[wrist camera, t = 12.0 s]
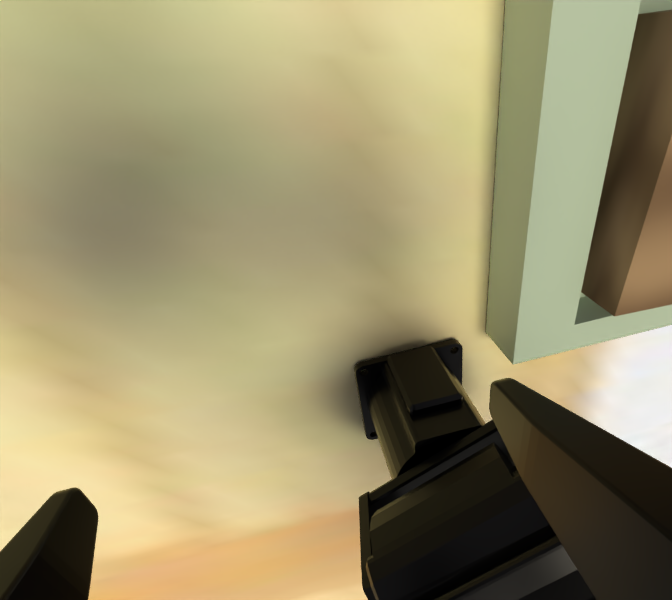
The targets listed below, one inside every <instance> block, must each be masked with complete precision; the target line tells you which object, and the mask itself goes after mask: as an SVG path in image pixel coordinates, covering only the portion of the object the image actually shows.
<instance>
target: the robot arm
mask: <svg viewBox="0 0 672 600" xmlns="http://www.w3.org/2000/svg"><path fill="white" fill-rule="evenodd" d="M453 347H455V348H454V349H452V348H453ZM451 349H452V350H451ZM363 369H366V370H365V371H361V370H363ZM354 372H355V377H356V383H357V389H358V395H359V400H360V406H361V412H362V418H363V423H364V429H365V433H366V437H367V438H368V439H371V440H373V439H379V442H380V445H381V448H382V451H383V454H384V457H385V460H386V463H387V466H388V469H389V472H390V475H391V478H392V480H390V481H389V482H387V483H385V484H384V485H382V486H380V487H379V488H377V489H375V490H374V491H372V492H367V493H365V494H363V495H362V496H360V497H359V516H360V545H361V569H362V586H363V590H364V593H365V595H366V596H367V598H368V600H672V468H671V467H669V466H667V465H666V464H664V463H662V462H660V461H659V460H657V459H655V458H653V457H651V456H650V455H648V454H646V453H644V452H642V451H641V450H639V449H637V448H635V447H634V446H632V445H630V444H628V443H626V442H625V441H623V440H621V439H619V438H617V437H616V436H614V435H612V434H610V433H609V432H607V431H605V430H603V429H601V428H600V427H598V426H596V425H594V424H593V423H591V422H589V421H587V420H585V419H584V418H582V417H580V416H578V415H576V414H575V413H573V412H571V411H569V410H568V409H566V408H564V407H562V406H560V405H559V404H557V403H555V402H553V401H551V400H550V399H548V398H546V397H544V396H543V395H541V394H539V393H537V392H535V391H534V390H532V389H530V388H528V387H526V386H525V385H523V384H521V383H519V382H518V381H516V380H514V379H511V378H505V379H501V380H497V381H494V382H493V383H492V384H491V389H490V403H489V409H490V414H491V416H492V419H493V420H491V421H489V422H488V423H486V424H485V422H484V420H483V419H482V417H481V416H480V414H479V413H478V411H477V409H476V408H475V406H474V405H473V403H472V402H471V400H470V398H469V397H468V395H467V394H466V392H465V391H464V389H463V387H462V345H461V344H460V343H459V341H457V340H455V339H454V340H448V341H444V342H440V343H436V344H432V345H428V346H424V347H420V348H416V349H411V350H407V351H403V352H399V353H395V354H391V355H387V356H383V357H379V358H374V359H370V360H366V361H362V362H359V363H358V364H356V366H355V367H354ZM97 525H98V513H97V510H96V508H95V506H94V505H93V504H92V503H91V501H90V500H89V499H88V498H87V497H86V496H85V494H84V493H83V492H82V491H81V490H80V489H78V488H70V489H66V490H62V491H59V492H56V493H54V494H53V495H52V496H51V497H50V498H49V499H48V500H47V501H46V502H45V503H44V504H43V505H42V507H41V508H40V509H39V510H38V511H37V512H36V513H35V514H34V515H33V516H32V517H31V519H30V520H29V521H28V522H27V523H26V524H25V525H24V526H23V527H22V528H21V530H20V531H19V532H18V533H17V534H16V535H15V536H14V537H13V538H12V539H11V541H10V542H9V543H8V544H7V545H6V546H5V547H4V548H3V549H2V550H1V551H0V600H88V596H89V590H90V582H91V574H92V566H93V558H94V550H95V542H96V534H97Z"/></svg>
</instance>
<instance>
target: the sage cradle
mask: <svg viewBox="0 0 672 600" xmlns="http://www.w3.org/2000/svg"><path fill="white" fill-rule="evenodd" d="M665 10H672V0H505V15H504V32H503V49H502V66H501V83H500V100H499V117H498V134H497V151H496V168H495V185H494V202H493V219H492V235H491V252H490V269H489V286H488V303H487V320H486V333H487V334H488V336H489V337H490V338H491V339H492V340H493V341H494V343H495V344H496V345H497V346H498V347H499V349H500V350H501V351H502V352H503V353H504V354H505V356H506V357H507V358H508V359H509V360H510V362H511V363H512V364H517V363H521V362H525V361H529V360H533V359H537V358H541V357H545V356H549V355H553V354H557V353H561V352H565V351H569V350H573V349H577V348H581V347H585V346H589V345H593V344H597V343H601V342H605V341H609V340H613V339H617V338H621V337H625V336H629V335H633V334H637V333H641V332H645V331H649V330H653V329H657V328H661V327H665V326H669V325H672V305H667V306H662V307H658V308H653V309H648V310H643V311H639V312H634V313H629V314H624V315H620V316H615V317H614V316H613V315H612V314H610V313H609V312H608V311H606V310H605V309H603V308H602V307H601V306H599V305H598V304H596V303H595V302H594V301H592V300H591V299H590V298H588V297H587V296H585V295H584V294H583V293H581V290H582V285H583V280H584V275H585V270H586V266H587V261H588V256H589V251H590V246H591V241H592V236H593V231H594V227H595V222H596V217H597V212H598V207H599V202H600V197H601V193H602V188H603V183H604V178H605V173H606V168H607V163H608V159H609V154H610V149H611V144H612V139H613V134H614V129H615V125H616V120H617V115H618V110H619V105H620V100H621V95H622V90H623V86H624V81H625V76H626V71H627V66H628V61H629V56H630V52H631V47H632V42H633V37H634V32H635V27H636V22H637V18H638V14H642V13H650V12H657V11H665Z"/></svg>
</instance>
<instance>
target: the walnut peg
mask: <svg viewBox="0 0 672 600" xmlns="http://www.w3.org/2000/svg"><path fill="white" fill-rule="evenodd" d="M581 293H583V294H584V295H585V296H587V297H588V298H590V299H591V300H592V301H594V302H595V303H596V304H598V305H599V306H601V307H602V308H603V309H605V310H606V311H608V312H609V313H610V314H612V315H613V316H614V317H615V316H620V315H624V314H629V313H634V312H639V311H643V310H648V309H653V308H658V307H662V306H667V305H672V10H665V11H657V12H650V13H642V14H638V18H637V22H636V27H635V32H634V37H633V42H632V47H631V52H630V56H629V61H628V66H627V71H626V76H625V81H624V86H623V90H622V95H621V100H620V105H619V110H618V115H617V120H616V125H615V129H614V134H613V139H612V144H611V149H610V154H609V159H608V163H607V168H606V173H605V178H604V183H603V188H602V193H601V197H600V202H599V207H598V212H597V217H596V222H595V227H594V231H593V236H592V241H591V246H590V251H589V256H588V261H587V266H586V270H585V275H584V280H583V285H582V290H581Z"/></svg>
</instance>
